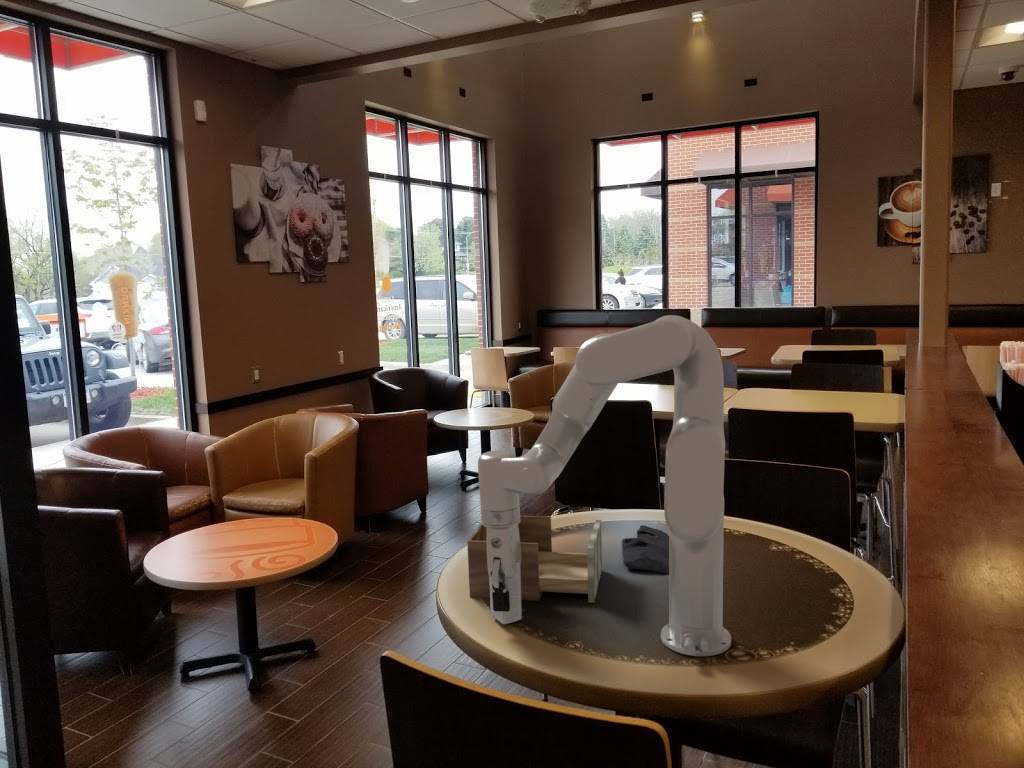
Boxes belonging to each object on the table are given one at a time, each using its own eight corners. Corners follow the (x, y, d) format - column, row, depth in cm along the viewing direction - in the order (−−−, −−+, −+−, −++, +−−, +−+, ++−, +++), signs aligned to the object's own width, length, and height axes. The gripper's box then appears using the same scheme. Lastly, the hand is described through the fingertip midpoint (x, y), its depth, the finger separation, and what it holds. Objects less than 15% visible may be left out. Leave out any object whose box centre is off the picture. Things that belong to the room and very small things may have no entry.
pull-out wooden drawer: (594, 602, 156) (593, 548, 155) (522, 598, 160) (520, 545, 158) (601, 569, 174) (601, 519, 172) (537, 566, 177) (536, 517, 175)
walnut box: (539, 600, 159) (537, 544, 157) (469, 596, 162) (467, 541, 160) (552, 568, 176) (550, 516, 175) (489, 565, 179) (487, 514, 178)
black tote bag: (613, 573, 173) (613, 553, 172) (623, 540, 194) (623, 522, 194) (682, 578, 169) (682, 557, 169) (684, 543, 190) (684, 525, 190)
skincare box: (489, 614, 152) (485, 556, 150) (509, 608, 154) (505, 551, 152) (504, 625, 146) (500, 565, 145) (524, 619, 148) (520, 560, 147)
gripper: (510, 530, 138) (515, 622, 140) (527, 501, 155) (532, 584, 157) (470, 529, 140) (476, 621, 142) (492, 501, 156) (497, 584, 159)
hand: (506, 601), depth 150 cm, fingers closed on skincare box, 7 cm apart
